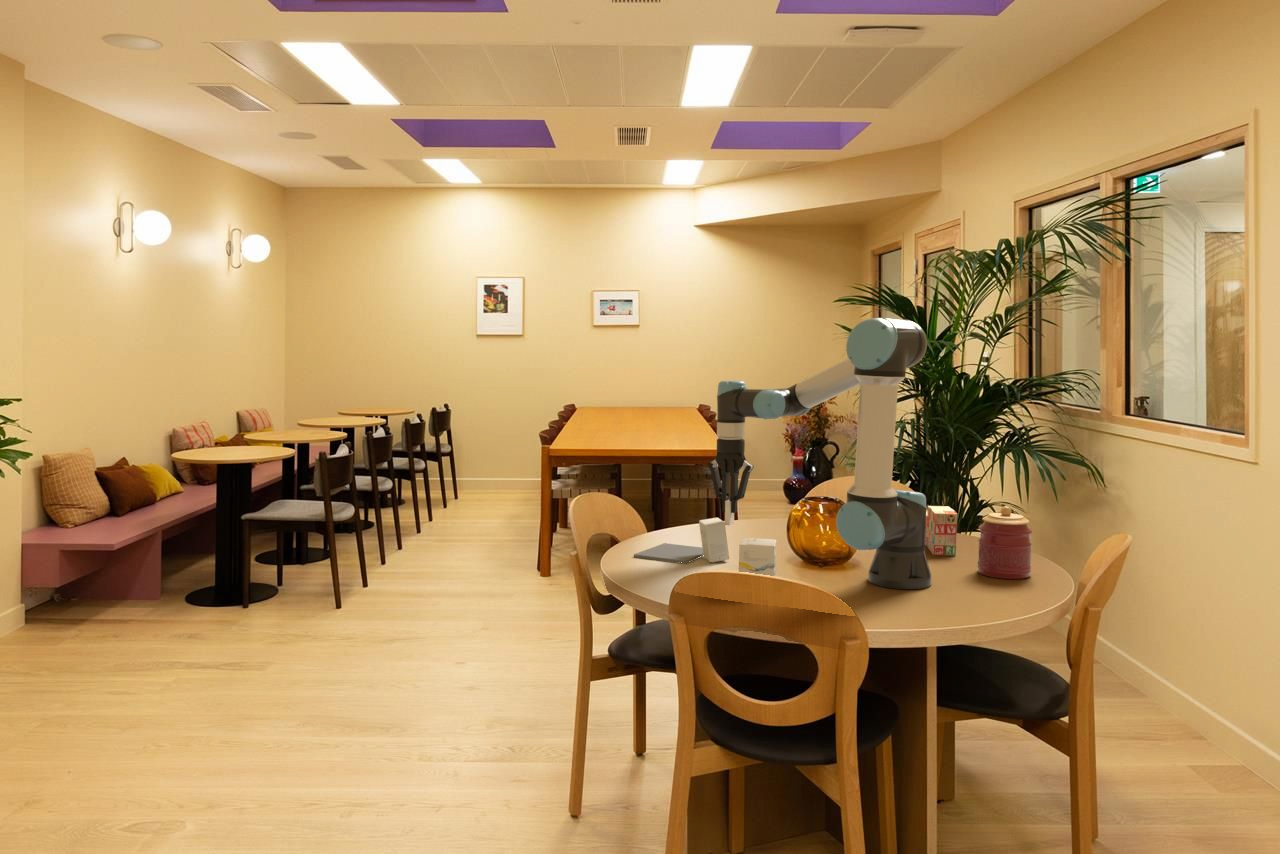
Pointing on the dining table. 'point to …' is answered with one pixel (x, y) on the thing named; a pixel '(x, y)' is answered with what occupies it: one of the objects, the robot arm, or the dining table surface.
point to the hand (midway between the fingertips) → (729, 524)
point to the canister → (1005, 545)
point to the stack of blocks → (941, 530)
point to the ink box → (758, 556)
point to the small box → (714, 539)
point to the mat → (671, 553)
